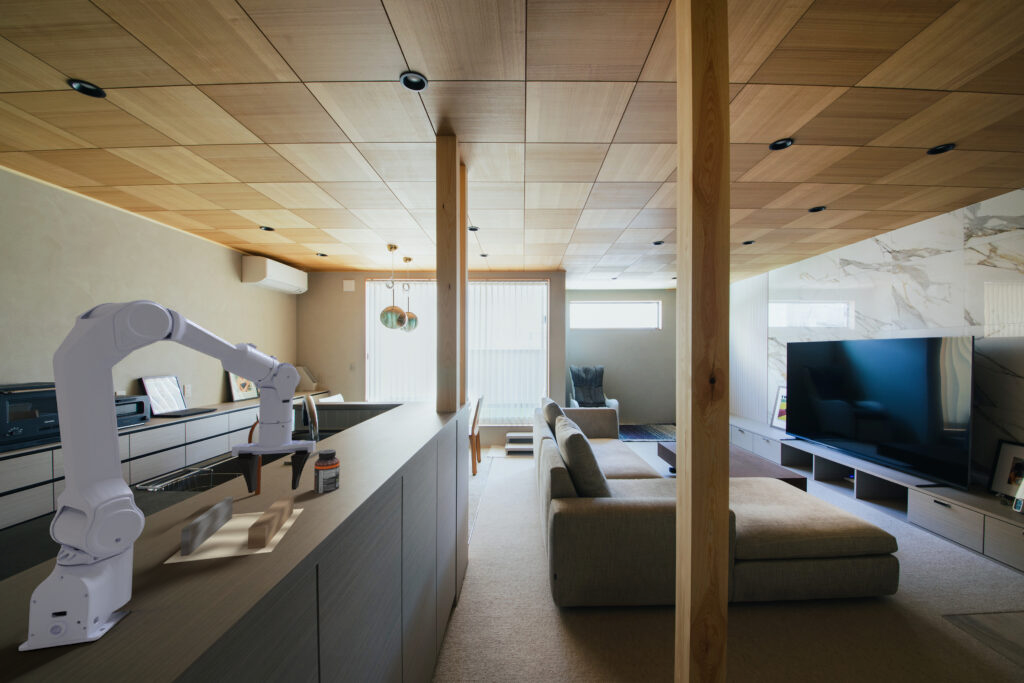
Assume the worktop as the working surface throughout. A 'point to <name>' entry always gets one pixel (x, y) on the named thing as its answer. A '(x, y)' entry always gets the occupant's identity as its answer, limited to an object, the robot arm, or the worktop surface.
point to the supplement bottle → (326, 472)
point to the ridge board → (223, 534)
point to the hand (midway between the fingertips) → (274, 489)
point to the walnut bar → (270, 522)
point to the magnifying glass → (254, 438)
